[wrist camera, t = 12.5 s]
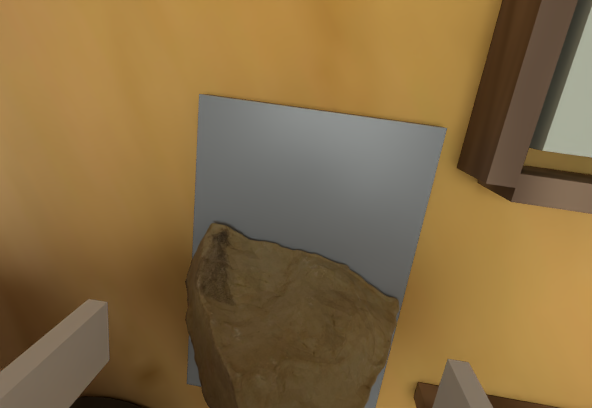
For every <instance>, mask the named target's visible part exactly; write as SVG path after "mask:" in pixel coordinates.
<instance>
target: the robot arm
mask: <svg viewBox="0 0 592 408" xmlns="http://www.w3.org/2000/svg"><path fill="white" fill-rule="evenodd" d="M109 360H110V357H109V329H108V302H104V301H98V300H92V299H88V300H87V301H85V302H84V303H83V304H82V305H81V306H79V307H78V308H77V309H76V310H75V311H73V312H72V313H71V314H70V315H68V316H67V317H66V318H65V319H64V320H62V321H61V322H60V323H59V324H58V325H56V326H55V327H54V328H53V329H51V330H50V331H49V332H48V333H47V334H45V335H44V336H43V337H42V338H41V339H39V340H38V341H37V342H36V343H35V344H33V345H32V346H31V347H30V348H28V349H27V350H26V351H25V352H24V353H22V354H21V355H20V356H19V357H18V358H16V359H15V360H14V361H13V362H11V363H10V364H9V365H8V366H7V367H5V368H4V369H3V370H2V371H1V372H0V408H142V407H139V406H137V405H134V404H131V403H128V402H124V401H120V400H116V399H110V398H102V397H81V398H78V397H79V396H80V394H81V393H82V392H83V391H84V390H85V388H86V387H87V386H88V385H89V384H90V383H91V381H92V380H93V379H94V378H95V377H96V375H97V374H98V373H99V372H100V371H101V369H102V368H103V367H104V366H105V365H106V364H107V362H108V361H109ZM432 408H493V406H492V404H491V403H490V401H489V399H488V397H487V395H486V393H485V392H484V390H483V388H482V386H481V384H480V382H479V381H478V379H477V377H476V375H475V373H474V371H473V370H472V368H471V366H470V364H469V362H463V361H457V360H451V359H448V360H447V363H446V366H445V369H444V372H443V375H442V379H441V382H440V385H439V388H438V391H437V394H436V398H435V401H434V404H433V407H432Z"/></svg>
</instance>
